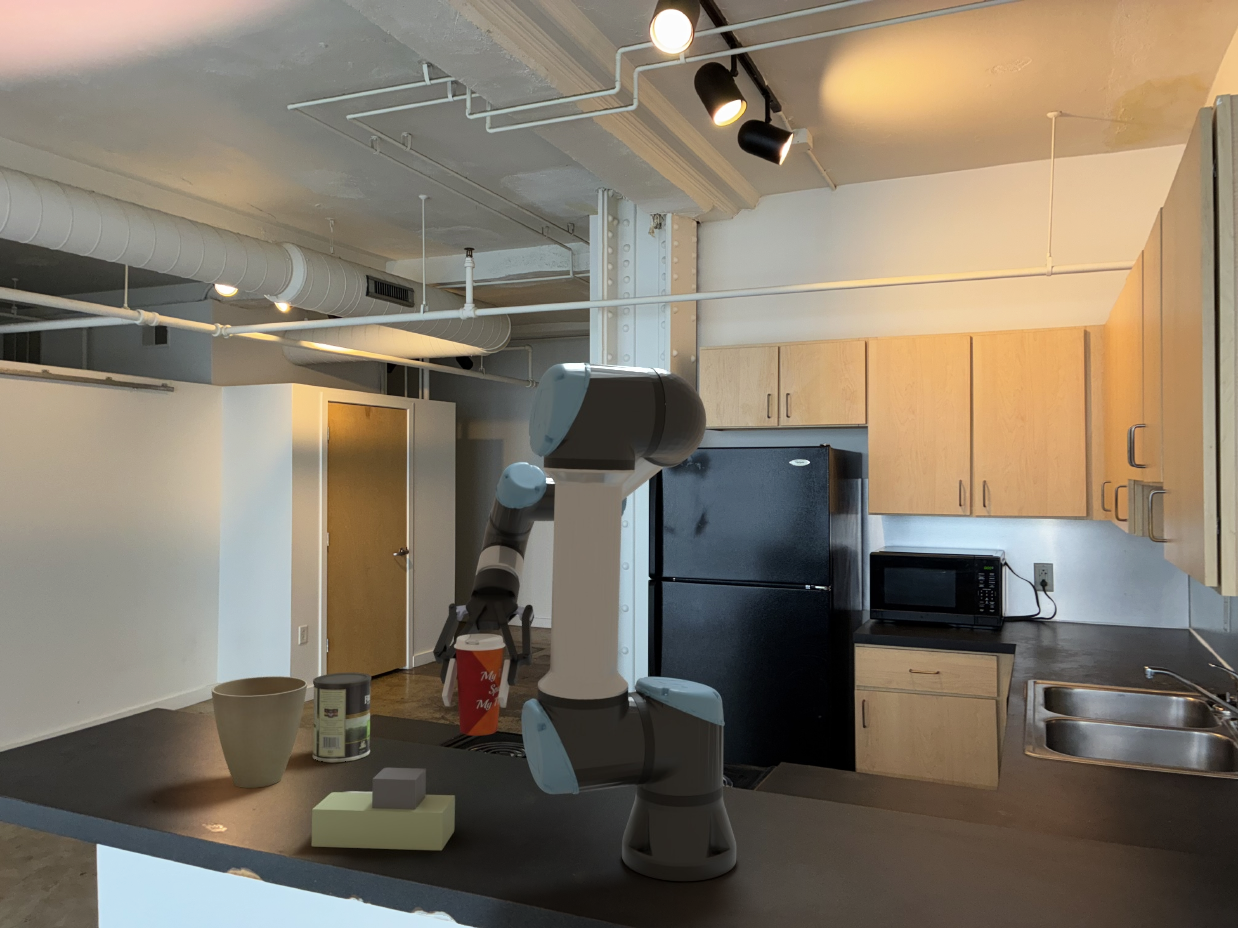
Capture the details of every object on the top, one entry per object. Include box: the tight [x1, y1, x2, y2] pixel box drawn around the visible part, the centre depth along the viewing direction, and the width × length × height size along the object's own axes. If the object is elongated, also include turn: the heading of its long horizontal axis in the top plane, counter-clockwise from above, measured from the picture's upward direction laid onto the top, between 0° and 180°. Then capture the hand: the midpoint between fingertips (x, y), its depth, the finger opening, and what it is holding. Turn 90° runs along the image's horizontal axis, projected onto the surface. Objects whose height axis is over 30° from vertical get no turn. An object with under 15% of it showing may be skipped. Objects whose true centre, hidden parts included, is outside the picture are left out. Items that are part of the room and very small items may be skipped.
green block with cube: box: [311, 767, 456, 851], centre depth 129 cm, size 20×17×9 cm
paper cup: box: [454, 633, 506, 737], centre depth 133 cm, size 8×8×14 cm
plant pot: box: [211, 675, 308, 789], centre depth 148 cm, size 15×15×16 cm
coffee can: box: [312, 672, 372, 763], centre depth 163 cm, size 10×10×14 cm
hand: (473, 701), depth 130 cm, fingers closed on paper cup, 8 cm apart
